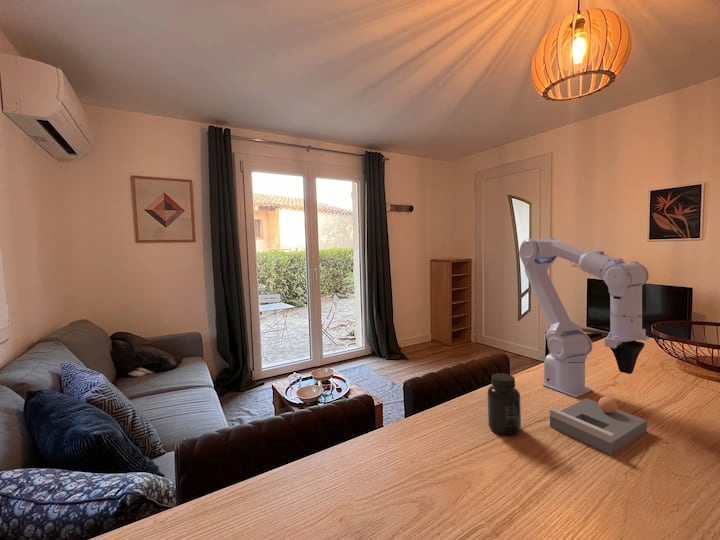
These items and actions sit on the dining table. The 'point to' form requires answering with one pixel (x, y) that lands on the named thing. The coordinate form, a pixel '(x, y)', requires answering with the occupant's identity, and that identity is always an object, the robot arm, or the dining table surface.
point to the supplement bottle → (504, 405)
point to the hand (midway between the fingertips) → (626, 372)
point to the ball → (608, 404)
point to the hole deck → (598, 425)
